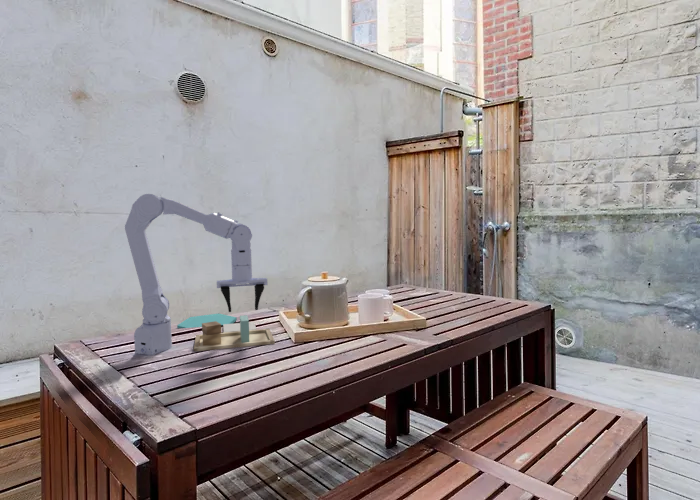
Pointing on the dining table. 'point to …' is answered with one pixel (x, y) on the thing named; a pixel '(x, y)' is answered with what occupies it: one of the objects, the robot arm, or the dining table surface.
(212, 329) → the offcut
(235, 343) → the wooden tray
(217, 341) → the offcut
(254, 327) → the tile
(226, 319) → the plaque
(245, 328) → the panel
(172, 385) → the dining table surface
